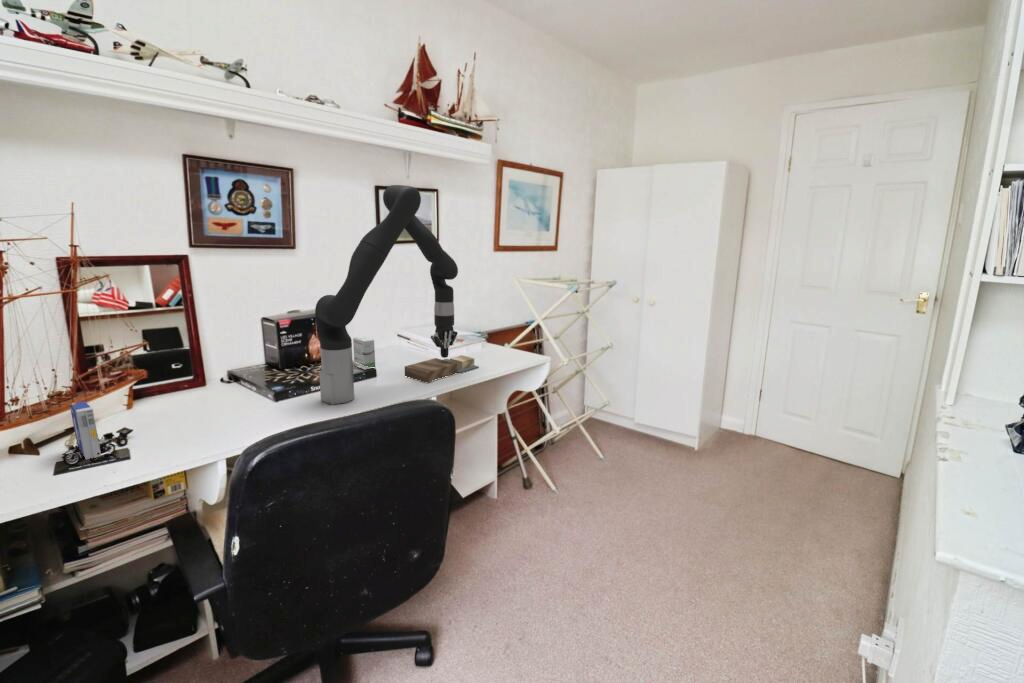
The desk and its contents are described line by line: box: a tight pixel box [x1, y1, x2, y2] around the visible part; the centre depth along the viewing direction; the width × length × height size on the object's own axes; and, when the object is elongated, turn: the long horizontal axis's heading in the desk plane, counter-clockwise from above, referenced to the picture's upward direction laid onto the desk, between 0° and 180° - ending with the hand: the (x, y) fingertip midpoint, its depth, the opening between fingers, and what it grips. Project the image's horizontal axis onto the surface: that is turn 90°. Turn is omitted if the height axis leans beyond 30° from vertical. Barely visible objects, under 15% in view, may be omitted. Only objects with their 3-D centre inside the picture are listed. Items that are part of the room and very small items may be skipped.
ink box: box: [352, 336, 376, 368], centre depth 187 cm, size 9×5×12 cm, turn 46°
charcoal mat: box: [443, 358, 480, 374], centre depth 193 cm, size 11×18×1 cm, turn 54°
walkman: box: [69, 401, 102, 461], centre depth 111 cm, size 8×3×12 cm, turn 52°
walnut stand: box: [404, 357, 459, 383], centre depth 180 cm, size 16×12×4 cm
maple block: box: [449, 354, 475, 369], centre depth 192 cm, size 7×7×3 cm
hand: (444, 357), depth 185 cm, fingers closed
